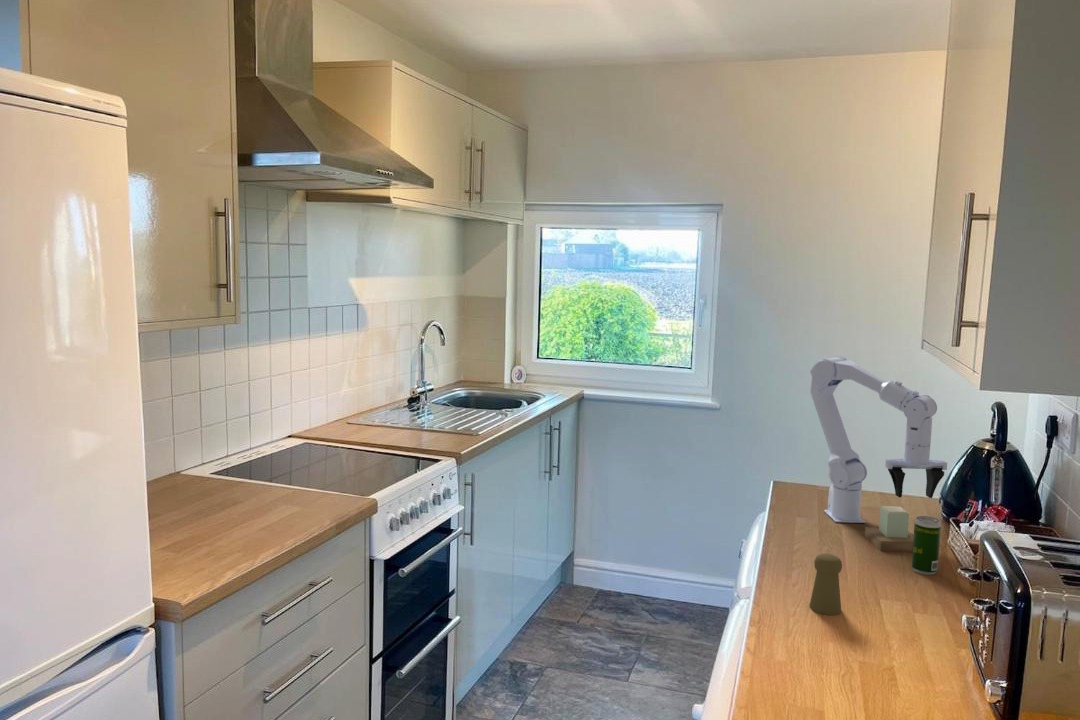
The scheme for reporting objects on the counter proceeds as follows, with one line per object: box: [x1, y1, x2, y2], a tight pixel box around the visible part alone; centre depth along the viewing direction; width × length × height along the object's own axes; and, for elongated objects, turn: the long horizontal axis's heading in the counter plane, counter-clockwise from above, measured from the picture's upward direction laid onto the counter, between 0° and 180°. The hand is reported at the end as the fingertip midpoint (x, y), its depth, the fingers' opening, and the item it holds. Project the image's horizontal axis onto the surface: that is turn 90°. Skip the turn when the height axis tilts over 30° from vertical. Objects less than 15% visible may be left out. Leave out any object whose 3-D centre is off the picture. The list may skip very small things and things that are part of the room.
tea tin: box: [878, 505, 910, 538], centre depth 193 cm, size 5×5×6 cm
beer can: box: [910, 515, 942, 576], centre depth 176 cm, size 5×5×12 cm
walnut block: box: [864, 526, 914, 553], centre depth 194 cm, size 10×10×3 cm
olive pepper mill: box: [809, 553, 843, 616], centre depth 156 cm, size 6×6×11 cm
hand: (913, 496), depth 198 cm, fingers open, 7 cm apart
